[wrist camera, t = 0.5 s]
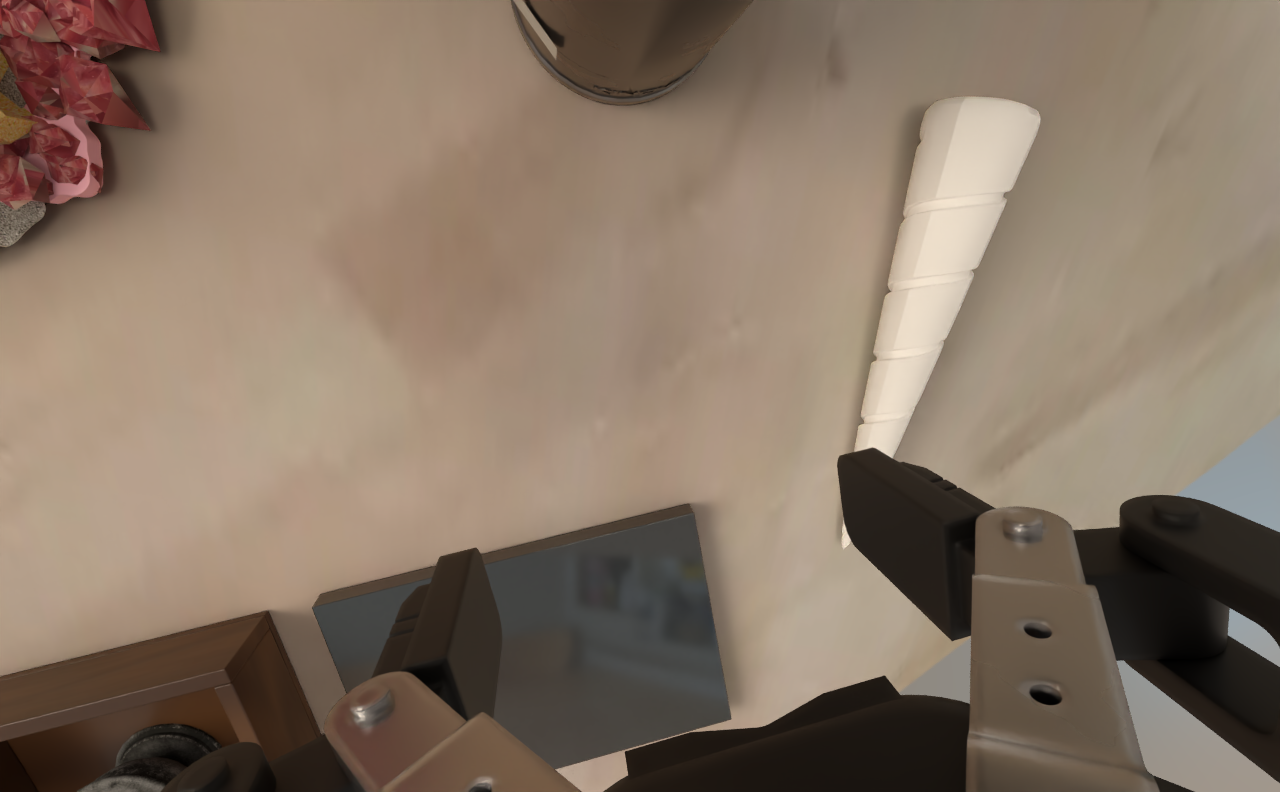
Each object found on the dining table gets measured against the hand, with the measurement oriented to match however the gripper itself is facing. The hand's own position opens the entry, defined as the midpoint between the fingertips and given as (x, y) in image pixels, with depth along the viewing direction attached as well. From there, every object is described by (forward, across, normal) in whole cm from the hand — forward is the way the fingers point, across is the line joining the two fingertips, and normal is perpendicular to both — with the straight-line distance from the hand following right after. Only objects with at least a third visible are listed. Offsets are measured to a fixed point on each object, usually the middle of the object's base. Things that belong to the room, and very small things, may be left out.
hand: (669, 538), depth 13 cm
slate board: (+18, +7, +15) cm, 25 cm away
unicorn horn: (+18, -16, +2) cm, 25 cm away
